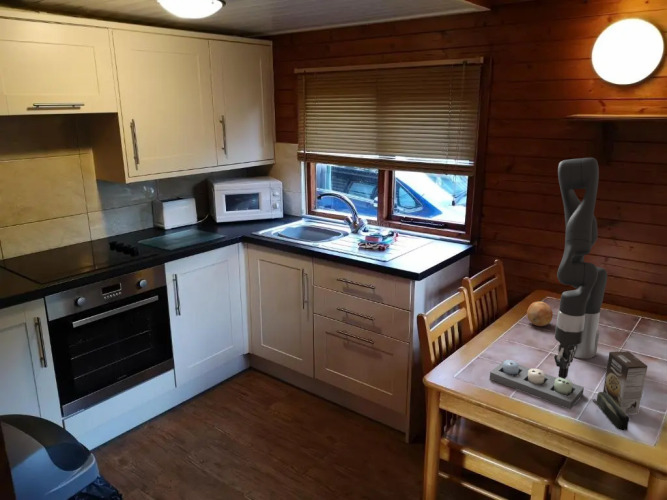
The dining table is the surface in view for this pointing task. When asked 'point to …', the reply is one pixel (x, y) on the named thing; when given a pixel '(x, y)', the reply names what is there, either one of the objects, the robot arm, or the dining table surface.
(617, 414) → the mobile phone
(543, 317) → the tan round ball
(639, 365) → the coffee box
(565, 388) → the sage button
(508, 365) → the blue button
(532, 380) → the cream button
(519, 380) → the button board
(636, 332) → the dining table surface
